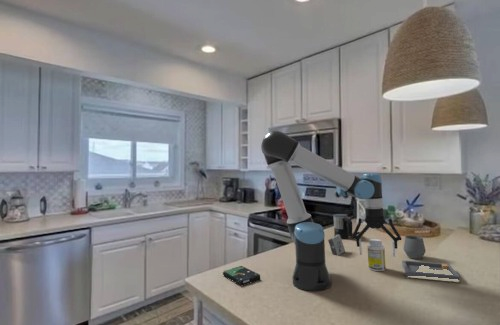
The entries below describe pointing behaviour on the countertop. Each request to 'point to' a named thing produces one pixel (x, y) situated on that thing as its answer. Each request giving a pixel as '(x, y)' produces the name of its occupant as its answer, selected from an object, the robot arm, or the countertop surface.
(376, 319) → the countertop surface
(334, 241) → the electrical switch
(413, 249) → the cup
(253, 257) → the countertop surface
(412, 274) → the grey tray
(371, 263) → the supplement bottle
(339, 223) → the milk frother
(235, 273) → the disk drive
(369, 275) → the countertop surface
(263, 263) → the countertop surface
